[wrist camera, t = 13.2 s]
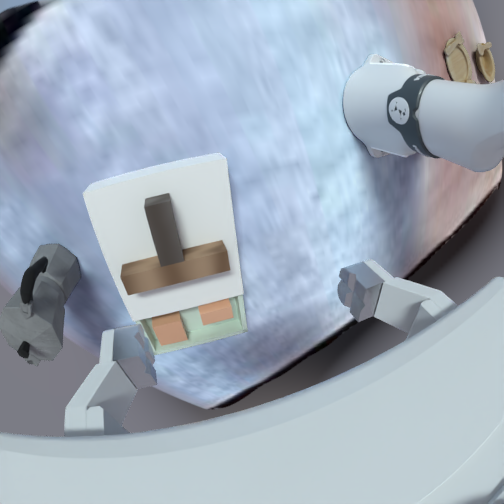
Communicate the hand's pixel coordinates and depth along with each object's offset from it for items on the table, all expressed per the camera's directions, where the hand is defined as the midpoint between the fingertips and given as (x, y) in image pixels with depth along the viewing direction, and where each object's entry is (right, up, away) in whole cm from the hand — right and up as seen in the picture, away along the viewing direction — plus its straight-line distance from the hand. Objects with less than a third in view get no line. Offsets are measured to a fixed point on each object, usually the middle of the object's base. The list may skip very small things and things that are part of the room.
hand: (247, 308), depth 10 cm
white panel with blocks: (-12, +5, +28) cm, 31 cm away
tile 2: (-14, -12, +34) cm, 38 cm away
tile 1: (-6, -6, +33) cm, 34 cm away
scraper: (-11, +4, +24) cm, 26 cm away
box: (-11, -9, +37) cm, 39 cm away
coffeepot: (-30, +1, +24) cm, 39 cm away
